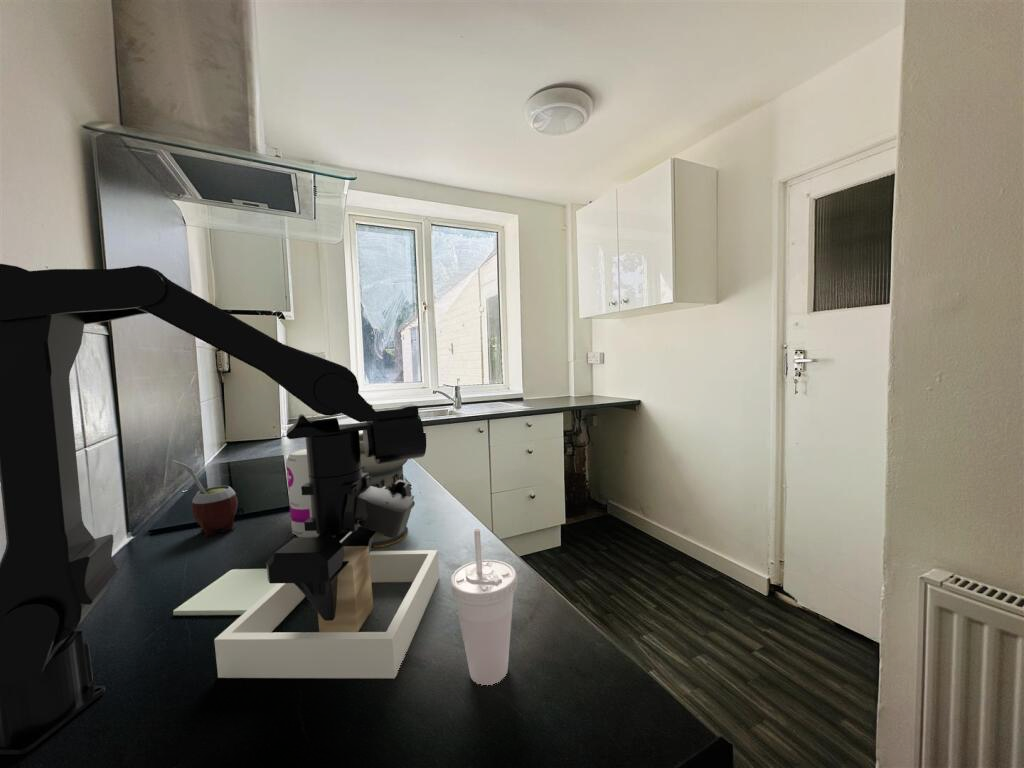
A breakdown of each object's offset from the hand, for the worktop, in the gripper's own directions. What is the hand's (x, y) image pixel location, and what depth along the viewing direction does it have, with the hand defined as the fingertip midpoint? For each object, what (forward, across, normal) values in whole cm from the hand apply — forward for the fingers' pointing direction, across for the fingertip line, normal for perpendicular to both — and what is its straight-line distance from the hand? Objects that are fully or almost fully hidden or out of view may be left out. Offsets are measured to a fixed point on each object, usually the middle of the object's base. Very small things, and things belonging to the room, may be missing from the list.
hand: (345, 599), depth 49 cm
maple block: (+3, 0, 0) cm, 3 cm away
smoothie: (+3, -8, -18) cm, 20 cm away
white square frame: (+2, 0, 0) cm, 2 cm away
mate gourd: (+3, +26, +38) cm, 46 cm away
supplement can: (+3, +26, +18) cm, 32 cm away
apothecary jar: (+3, +23, +5) cm, 24 cm away
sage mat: (+2, +6, +18) cm, 19 cm away
